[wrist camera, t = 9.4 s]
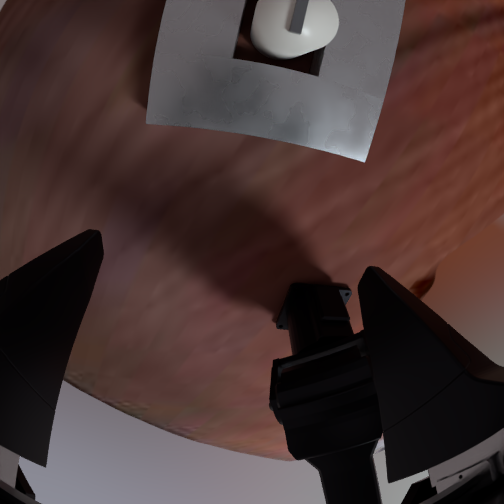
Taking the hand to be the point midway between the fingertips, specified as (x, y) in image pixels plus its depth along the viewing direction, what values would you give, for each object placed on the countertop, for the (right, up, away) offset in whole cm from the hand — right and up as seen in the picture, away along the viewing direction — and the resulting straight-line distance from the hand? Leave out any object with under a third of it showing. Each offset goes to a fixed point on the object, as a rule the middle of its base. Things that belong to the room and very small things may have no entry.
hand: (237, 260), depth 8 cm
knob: (+2, +14, +5) cm, 15 cm away
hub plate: (+2, +14, +5) cm, 15 cm away
